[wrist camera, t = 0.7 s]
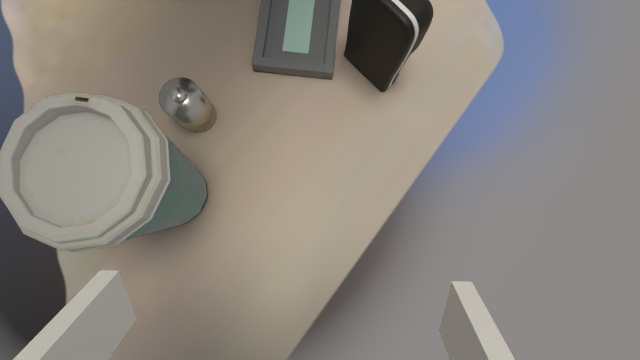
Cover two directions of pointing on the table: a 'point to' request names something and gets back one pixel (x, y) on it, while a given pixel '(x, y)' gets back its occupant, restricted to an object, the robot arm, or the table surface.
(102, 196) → the disposable coffee cup
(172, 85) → the short grey cell
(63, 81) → the table surface
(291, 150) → the table surface
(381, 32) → the battery charger
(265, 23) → the dock
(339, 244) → the table surface
